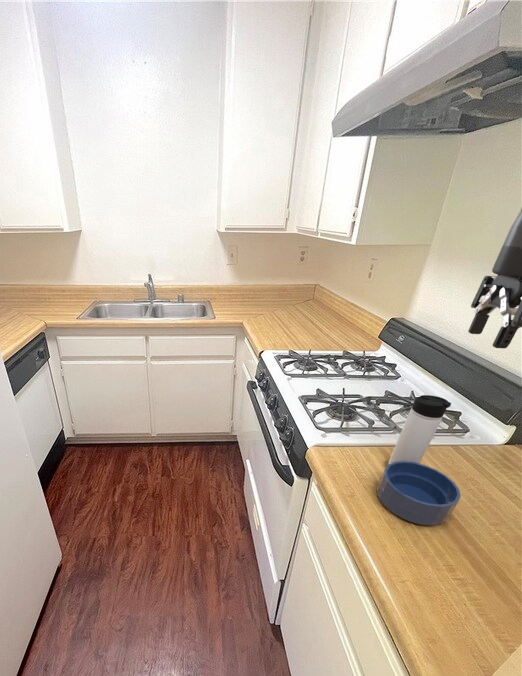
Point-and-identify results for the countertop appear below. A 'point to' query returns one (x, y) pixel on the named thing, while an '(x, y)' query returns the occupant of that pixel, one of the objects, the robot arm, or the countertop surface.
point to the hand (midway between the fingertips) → (485, 340)
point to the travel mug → (419, 428)
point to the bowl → (417, 493)
